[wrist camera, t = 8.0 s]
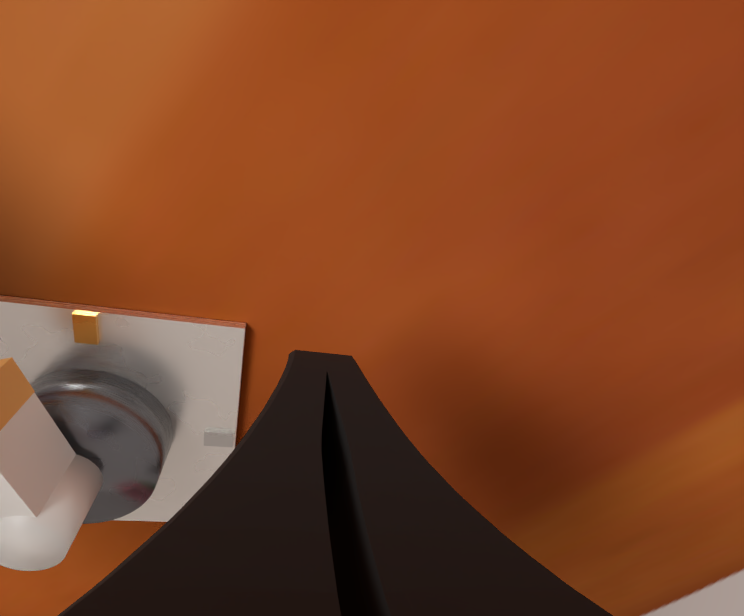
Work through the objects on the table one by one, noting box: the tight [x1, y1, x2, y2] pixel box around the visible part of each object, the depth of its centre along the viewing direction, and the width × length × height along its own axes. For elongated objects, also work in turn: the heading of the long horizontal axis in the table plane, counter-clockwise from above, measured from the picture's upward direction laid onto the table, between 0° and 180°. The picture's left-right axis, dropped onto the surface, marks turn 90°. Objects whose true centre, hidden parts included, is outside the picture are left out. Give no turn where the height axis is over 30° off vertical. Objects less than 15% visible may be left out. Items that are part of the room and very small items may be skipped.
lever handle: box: [0, 357, 103, 571], centre depth 16 cm, size 7×3×3 cm, turn 10°
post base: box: [0, 295, 246, 524], centre depth 21 cm, size 13×13×3 cm
